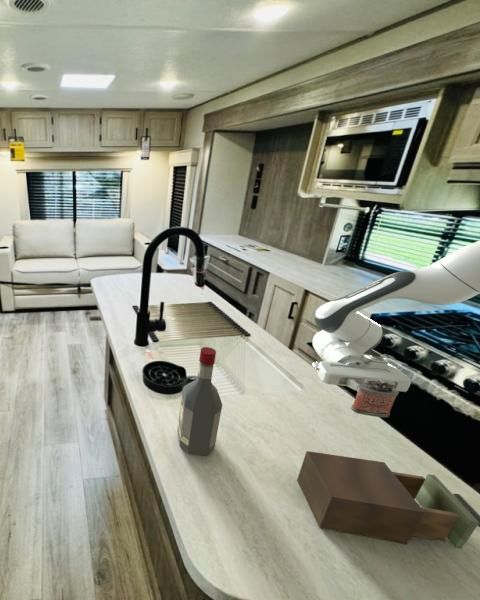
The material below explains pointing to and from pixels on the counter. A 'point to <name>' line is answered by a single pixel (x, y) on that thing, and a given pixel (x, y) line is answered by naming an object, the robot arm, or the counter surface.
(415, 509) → the cabinet
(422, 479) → the drawer
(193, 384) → the liquor
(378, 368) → the robot arm
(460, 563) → the counter surface
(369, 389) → the small labelled tin can
